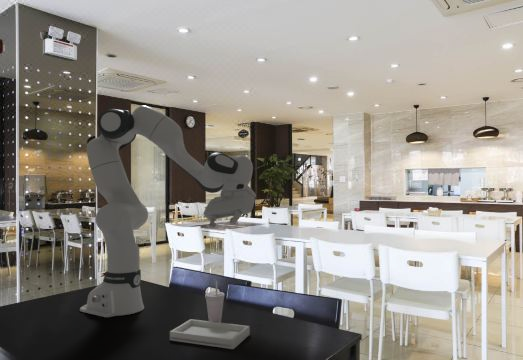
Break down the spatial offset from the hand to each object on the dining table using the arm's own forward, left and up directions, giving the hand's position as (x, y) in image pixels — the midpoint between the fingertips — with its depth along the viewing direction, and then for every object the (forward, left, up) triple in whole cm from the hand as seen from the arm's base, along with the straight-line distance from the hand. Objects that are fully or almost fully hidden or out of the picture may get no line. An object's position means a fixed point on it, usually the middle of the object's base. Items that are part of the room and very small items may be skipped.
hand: (221, 225), depth 143 cm
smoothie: (+2, -9, -31) cm, 32 cm away
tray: (+6, -20, -31) cm, 37 cm away
